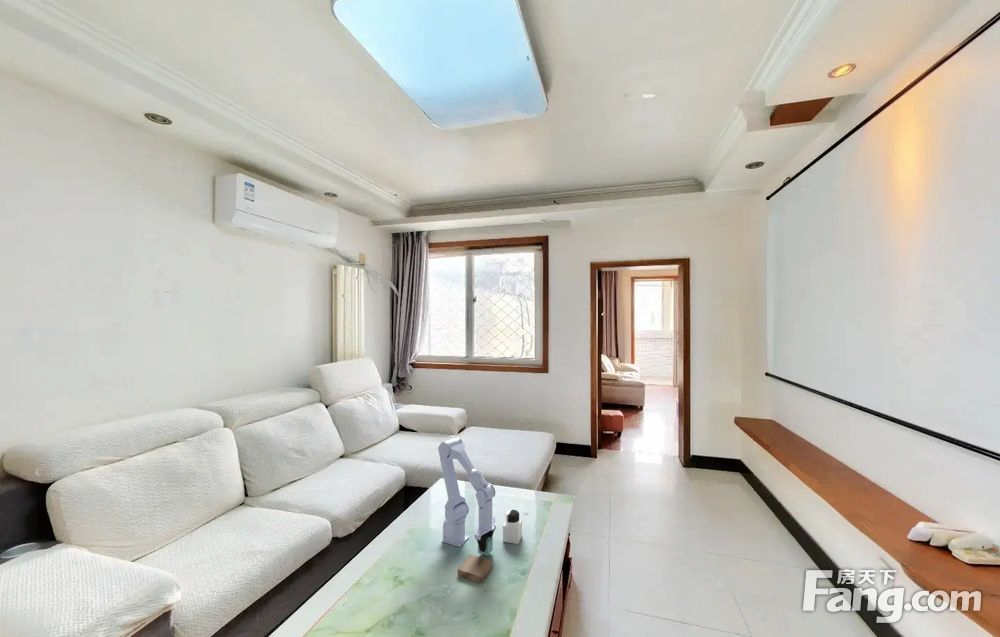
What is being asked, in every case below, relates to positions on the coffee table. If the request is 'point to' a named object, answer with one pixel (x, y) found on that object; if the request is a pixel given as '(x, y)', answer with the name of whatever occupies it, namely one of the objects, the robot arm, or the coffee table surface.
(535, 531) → the coffee table surface
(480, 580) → the walnut slab
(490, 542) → the teal block
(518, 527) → the medicine bottle
